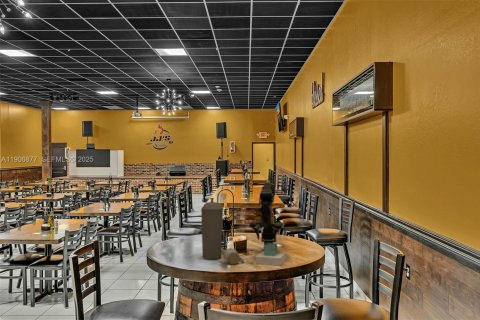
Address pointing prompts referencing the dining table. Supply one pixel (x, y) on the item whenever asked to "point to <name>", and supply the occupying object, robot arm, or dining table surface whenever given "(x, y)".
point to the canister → (211, 230)
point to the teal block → (270, 249)
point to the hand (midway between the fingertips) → (266, 240)
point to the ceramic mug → (232, 256)
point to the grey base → (270, 259)
